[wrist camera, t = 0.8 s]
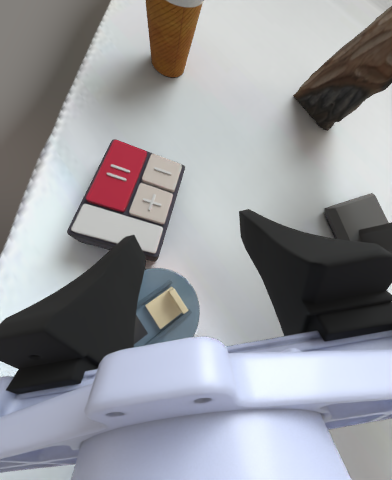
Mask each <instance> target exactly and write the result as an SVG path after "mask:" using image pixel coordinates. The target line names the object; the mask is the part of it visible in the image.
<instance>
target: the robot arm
mask: <svg viewBox="0 0 392 480" xmlns="http://www.w3.org/2000/svg"><path fill="white" fill-rule="evenodd" d="M239 216H240V231H241V238H242V241H243V244H244V246H245V248H246V250H247V252H248V254H249V256H250V258H251V259H252V261H253V263H254V265H255V266H256V268H257V270H258V272H259V274H260V276H261V278H262V280H263V282H264V284H265V287H266V289H267V292H268V294H269V296H270V299H271V301H272V304H273V306H274V309H275V312H276V314H277V317H278V320H279V322H280V325H281V328H282V331H283V333H284V336H283V337H277V338H272V339H266V340H260V341H255V342H249V343H243V344H237V345H232V346H225V345H224V344H223V343H222V342H221V341H219V340H218V339H214V338H210V337H189V338H184V339H178V340H173V341H167V342H162V343H156V344H151V345H145V346H140V347H134V331H135V319H136V310H137V302H138V297H139V293H140V288H141V284H142V280H143V275H144V270H145V259H146V256H145V255H144V253H143V251H142V249H141V247H140V245H139V243H138V241H137V239H136V237H135V235H131V236H126V237H125V238H123V239H122V240H121V241H120V242H119V243H118V244H116V245H115V246H114V247H113V248H112V249H111V250H110V251H109V252H108V253H107V254H106V255H105V256H104V257H102V258H101V259H100V260H99V261H98V262H97V263H96V264H95V265H93V266H92V267H91V268H90V269H88V270H87V271H86V272H85V273H83V274H82V275H81V276H79V277H78V278H76V279H75V280H74V281H72V282H71V283H69V284H67V285H66V286H64V287H63V288H61V289H60V290H58V291H57V292H55V293H53V294H52V295H50V296H48V297H46V298H45V299H43V300H41V301H39V302H37V303H36V304H34V305H32V306H30V307H28V308H26V309H24V310H22V311H20V312H18V313H16V314H14V315H12V316H10V317H8V318H6V319H5V320H4V321H3V322H2V323H1V324H0V361H2V362H4V363H6V364H8V365H11V366H13V367H15V368H18V369H19V370H18V371H17V373H16V375H15V376H14V377H10V376H5V377H0V473H2V472H10V471H18V470H26V469H35V468H44V467H53V466H63V465H72V464H75V468H74V471H73V474H72V478H71V480H351V478H350V476H349V473H348V471H347V469H346V467H345V465H344V463H343V461H342V459H341V456H340V454H339V452H338V450H337V448H336V446H335V444H334V442H333V439H332V437H331V435H330V433H329V431H328V430H329V429H335V428H340V427H346V426H351V425H357V424H363V423H368V422H374V421H380V420H385V419H391V418H392V302H391V301H392V295H391V294H390V293H389V292H388V291H386V290H387V288H388V287H389V286H390V284H391V283H392V253H390V252H389V251H387V250H386V249H384V248H382V247H381V246H379V245H378V244H376V243H366V242H356V241H347V240H340V239H333V238H327V237H322V236H317V235H313V234H309V233H305V232H301V231H298V230H295V229H292V228H289V227H286V226H283V225H281V224H278V223H276V222H274V221H271V220H269V219H267V218H265V217H263V216H261V215H259V214H257V213H255V212H253V211H251V210H249V209H248V210H243V211H239Z"/></svg>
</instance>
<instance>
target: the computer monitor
mask: <svg viewBox="0 0 392 480" xmlns="http://www.w3.org/2000/svg"><path fill="white" fill-rule="evenodd" d="M324 213H325V215H326V217H327V220H328V222H329V224H330V226H331V229H332V231H333V233H334V235H335V237H336V239H340V240H347V241H356V242H366V243H376V244H378V245H379V246H381V247H382V248H384V249H386V250H387V251H389V252H390V253H392V223H388V221H387V219H386V217H385V215H384V213H383V211H382V208H381V206H380V204H379V202H378V200H377V198H376V196H375V195H374V194H372V193H371V194H368V195H365V196H361V197H358V198H355V199H352V200H349V201H346V202H343V203H340V204H337V205H333V206H330V207H327V208H325V209H324Z"/></svg>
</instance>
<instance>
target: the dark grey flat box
mask: <svg viewBox="0 0 392 480" xmlns="http://www.w3.org/2000/svg"><path fill="white" fill-rule="evenodd" d="M184 170H185V167H184V165H181V164H179V163H176V162H174V161H171V160H168V159H166V158H163V157H160V156H158V155H155V154H152V153H150V152H147V151H145V150H142V149H139V148H137V147H134V146H131V145H129V144H126V143H124V142H121V141H118V140H115V139H114V140H112V141H111V143H110V145H109V147H108V149H107V151H106V153H105V155H104V157H103V159H102V161H101V163H100V165H99V168H98V170H97V172H96V174H95V176H94V178H93V180H92V182H91V184H90V186H89V188H88V190H87V192H86V194H85V196H84V198H83V200H82V202H81V204H80V206H79V208H78V210H77V212H76V214H75V216H74V218H73V220H72V222H71V224H70V226H69V228H68V231H67V233H68V234H69V235H70V236H72V237H73V238H75V239H76V240H78V241H79V242H82V243H86V244H90V245H94V246H98V247H101V248H105V249H109V250H111V249H112V248H113V247H114V246H115V245H116V244H118V243H119V242H120V241H121V240H122V239H123V238H125V237H126V236H131V235H135V237H136V239H137V241H138V243H139V245H140V247H141V249H142V251H143V253H144V255H145V256H146V259H147V260H151V261H157V259H158V257H159V254H160V250H161V247H162V244H163V240H164V237H165V234H166V230H167V227H168V223H169V220H170V217H171V213H172V210H173V207H174V203H175V200H176V197H177V193H178V190H179V187H180V183H181V180H182V176H183V173H184Z"/></svg>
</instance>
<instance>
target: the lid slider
mask: <svg viewBox="0 0 392 480" xmlns="http://www.w3.org/2000/svg"><path fill="white" fill-rule="evenodd" d="M145 306H146V308H147V309H148V311H149V312H150V314H151V316H152V317H153V319H154V320H155V322H156V323H157V325H158V327H159V328H160V329H162V328H163V327H164V326H165V325H167V324H168V323H169V322H170V321H172V320H173V319H174V318H176V317H177V316H178V315H179V314H181V313H183V314H185V313H186V312H187V311H188V309H187V307H186V306H185V304H184V303H183V301H182V300H181V298H180V296H179V295H178V293H177V292H176V290H175V289H174V288H173V287H170V288H169V289H167V290H166V291H165V292H163V293H162V294H160V295H159V296H158V297H156V298H155V299H153V300H152V301H151V302H149V303H148V304H146V305H145Z"/></svg>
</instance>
